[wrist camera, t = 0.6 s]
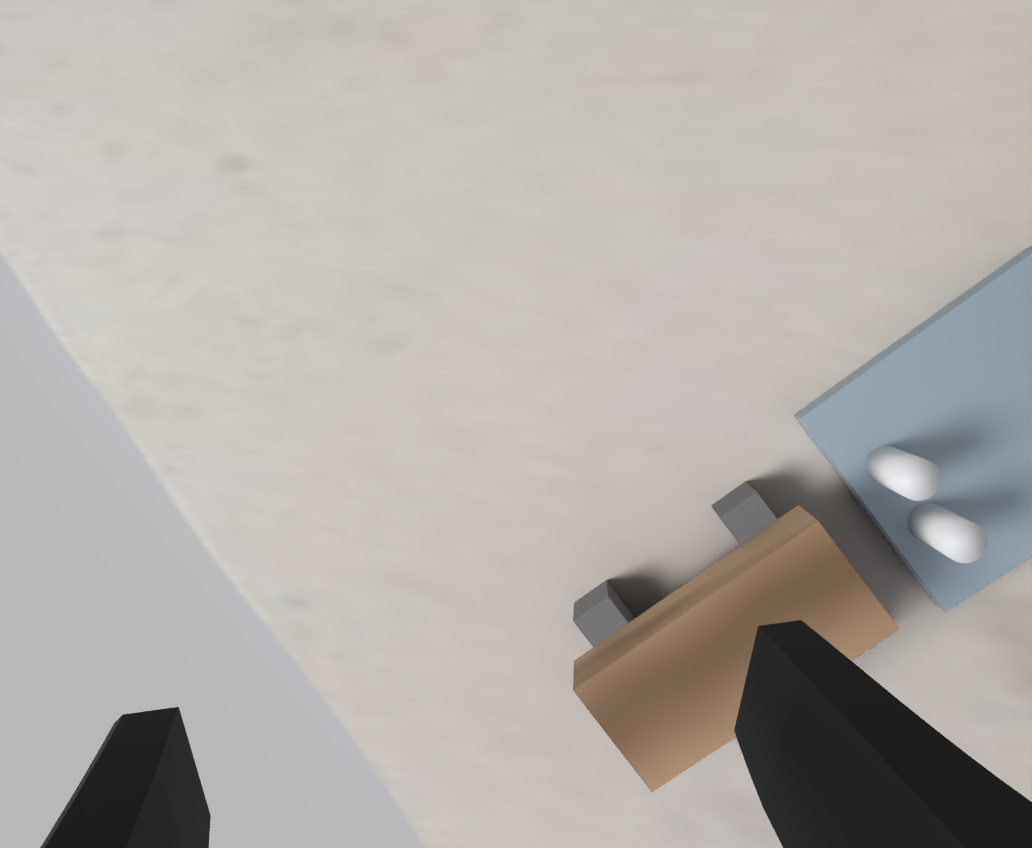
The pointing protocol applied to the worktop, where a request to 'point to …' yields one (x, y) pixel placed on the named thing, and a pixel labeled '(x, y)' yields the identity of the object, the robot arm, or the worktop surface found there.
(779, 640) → the robot arm
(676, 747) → the shelf board
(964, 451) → the peg base
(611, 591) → the board rack
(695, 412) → the worktop surface
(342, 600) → the worktop surface
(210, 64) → the worktop surface
